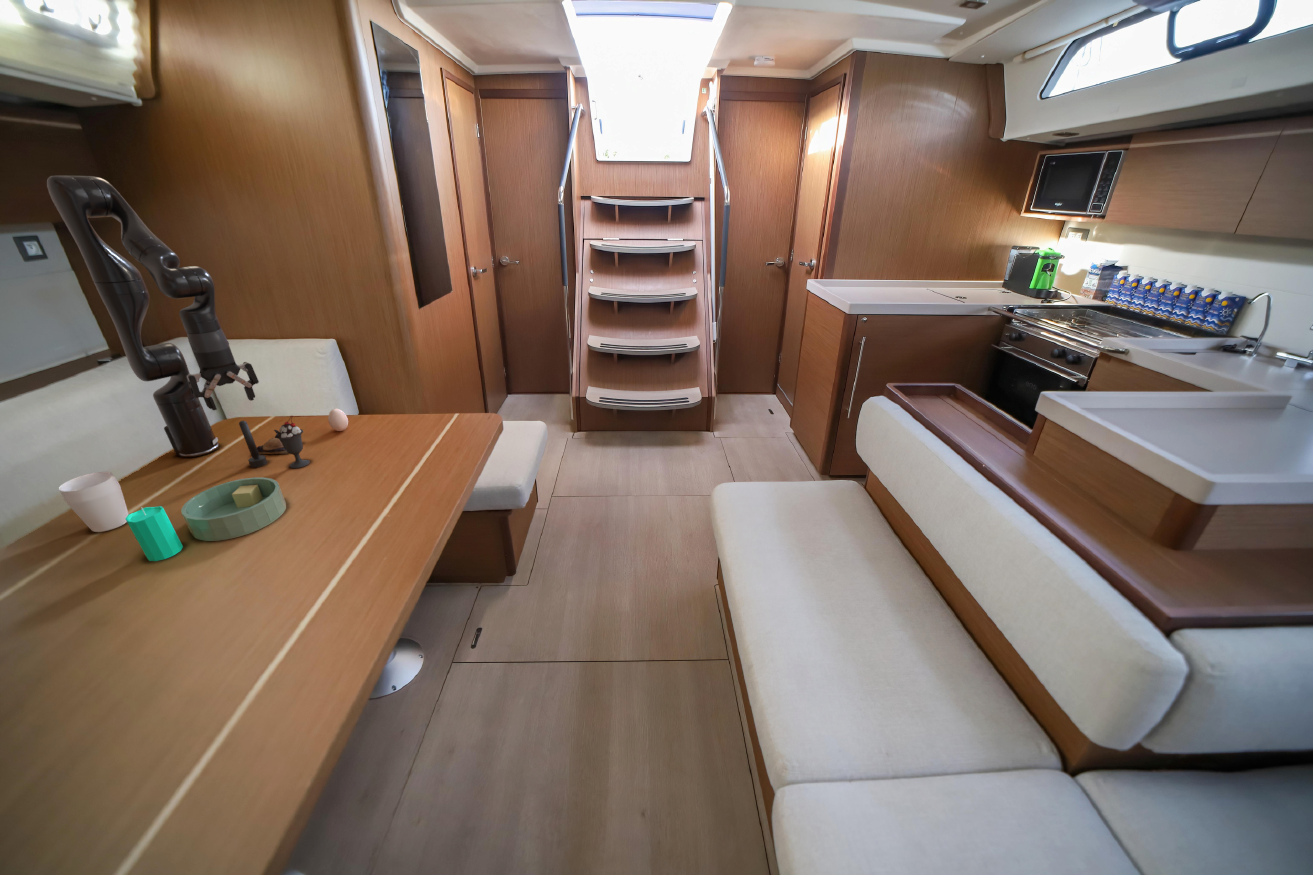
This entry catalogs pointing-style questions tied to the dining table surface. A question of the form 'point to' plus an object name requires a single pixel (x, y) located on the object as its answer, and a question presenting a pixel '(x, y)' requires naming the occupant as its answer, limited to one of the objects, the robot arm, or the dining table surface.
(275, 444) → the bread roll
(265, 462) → the dark grey plunger
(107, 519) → the cup
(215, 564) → the dining table surface
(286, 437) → the sundae
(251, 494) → the block
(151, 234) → the robot arm
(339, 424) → the egg
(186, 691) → the dining table surface
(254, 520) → the bowl
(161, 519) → the candle
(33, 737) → the dining table surface
